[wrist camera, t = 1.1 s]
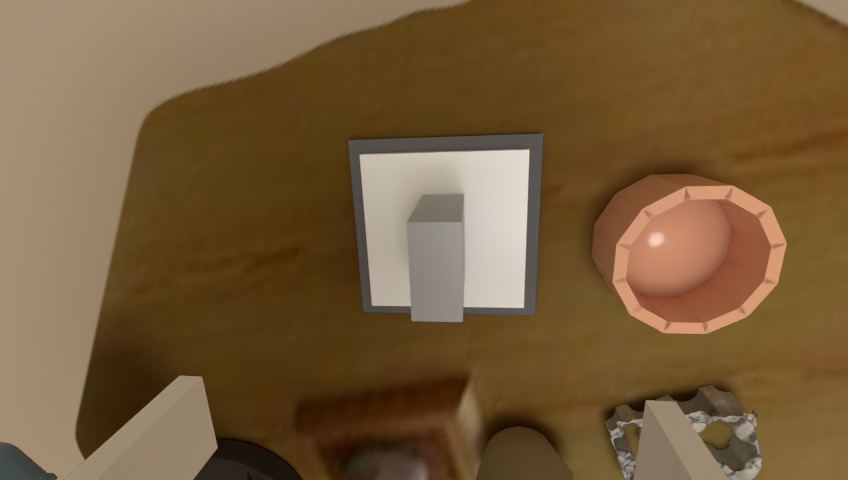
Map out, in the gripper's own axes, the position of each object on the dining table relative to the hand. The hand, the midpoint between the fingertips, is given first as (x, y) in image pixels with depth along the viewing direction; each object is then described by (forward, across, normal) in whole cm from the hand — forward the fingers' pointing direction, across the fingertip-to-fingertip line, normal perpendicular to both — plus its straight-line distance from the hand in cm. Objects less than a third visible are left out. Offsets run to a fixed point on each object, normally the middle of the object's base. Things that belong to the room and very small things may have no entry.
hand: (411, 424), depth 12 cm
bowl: (+21, -16, +1) cm, 26 cm away
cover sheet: (+20, 0, 0) cm, 20 cm away
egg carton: (+22, -19, +18) cm, 33 cm away
